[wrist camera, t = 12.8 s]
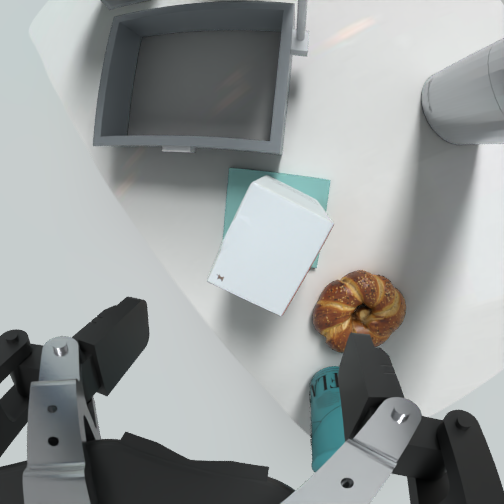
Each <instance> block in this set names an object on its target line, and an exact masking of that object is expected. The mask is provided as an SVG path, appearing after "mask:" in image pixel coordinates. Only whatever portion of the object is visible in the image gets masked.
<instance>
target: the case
mask: <svg viewBox="0 0 504 504" xmlns="http://www.w3.org/2000/svg"><path fill="white" fill-rule="evenodd" d="M306 13H307V0H298V13H297V29H295V3H282V2H264V1H224V2H205V3H193V4H183V5H175V6H167V7H161V8H155V9H149V10H143V11H138V12H133V13H129V14H124V15H120V16H116V17H114V19H113V23H112V27H111V31H110V35H109V39H108V44H107V48H106V53H105V58H104V63H103V69H102V74H101V80H100V86H99V93H98V100H97V108H96V117H95V126H94V138H93V146H162V151H168V152H191V153H195V151H196V148H210V149H224V150H237V151H248V152H259V153H268V154H277V155H282V150H283V141H284V132H285V122H286V113H287V103H288V93H289V83H290V73H291V62H292V55H298V56H307V53H308V42H309V31H306V30H305V26H306ZM212 30H255V31H274V32H281V40H280V50H279V60H278V69H277V79H276V89H275V98H274V107H273V117H272V126H271V136H270V141H262V140H251V139H239V138H225V137H208V136H181V135H129V136H127V132H128V122H129V113H130V105H131V97H132V90H133V83H134V77H135V70H136V65H137V59H138V54H139V48H140V43H141V39H142V37H147V36H154V35H161V34H170V33H180V32H193V31H212Z"/></svg>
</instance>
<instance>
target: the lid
mask: <svg viewBox="0 0 504 504" xmlns="http://www.w3.org/2000/svg"><path fill="white" fill-rule="evenodd" d="M101 1H102V2H103V3H104V4H105V5H106V6H107V7H108V8H109V9H114V8H118V7H122V6H126V5H130V4H134V3H139V2H144V1H149V0H101Z"/></svg>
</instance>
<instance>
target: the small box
mask: <svg viewBox="0 0 504 504" xmlns="http://www.w3.org/2000/svg"><path fill="white" fill-rule="evenodd" d="M333 226H334V223H333V221H332V220H331V218H330V217H329V216H328V214H327V213H326V211H325V210H324V209H323V207H322V206H321V205H320V203H319V202H318V201H317V200H316V199H314V198H312V197H310V196H309V195H307V194H305V193H303V192H301V191H299V190H297V189H295V188H293V187H291V186H289V185H287V184H285V183H283V182H281V181H279V180H277V179H275V178H273V177H270V176H268V175H265V176H263V177H261V178H259V179H258V180H256V181H253V182H252V183H251V184H250V186H249V188H248V190H247V192H246V194H245V196H244V198H243V200H242V202H241V204H240V206H239V208H238V210H237V212H236V214H235V217H234V219H233V221H232V223H231V225H230V227H229V229H228V231H227V233H226V235H225V237H224V240H223V242H222V244H221V247H220V250H219V252H218V255H217V257H216V259H215V261H214V264H213V266H212V268H211V271H210V273H209V276H208V278H207V282H209V283H211V284H213V285H216V286H218V287H220V288H222V289H224V290H226V291H228V292H230V293H232V294H234V295H236V296H238V297H240V298H242V299H244V300H247V301H249V302H251V303H253V304H255V305H257V306H260V307H262V308H264V309H266V310H268V311H270V312H273V313H275V314H277V315H279V316H282V315H283V314H284V312H285V311H286V309H287V307H288V306H289V304H290V302H291V301H292V299H293V297H294V296H295V294H296V292H297V290H298V289H299V287H300V285H301V284H302V282H303V280H304V278H305V277H306V275H307V273H308V271H309V270H310V268H311V266H312V264H313V263H314V261H315V259H316V257H317V255H318V253H319V252H320V250H321V248H322V246H323V244H324V243H325V241H326V239H327V237H328V235H329V233H330V231H331V230H332V228H333Z"/></svg>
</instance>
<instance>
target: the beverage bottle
mask: <svg viewBox="0 0 504 504" xmlns="http://www.w3.org/2000/svg"><path fill="white" fill-rule="evenodd" d="M338 372H339V367H337V366H332V367H327V368H324V369H322V370H320V371H319V372H317V373H316V374H315V376H314V377H313V379H312V380H311V382H310V383H311V384H310V385H309V386H310V388H309V389H311V399H310V405H311V406H310V407H311V419H310V420H311V422H312V436H311V435H310V436H311V437H312V439H311V440H312V442H311V443H312V444H311V445H312V469H313V471H314V472H315V473H316V472H317V471H318V470H319V469H320V468H321V467H322V466H323V465H324V464H325V463H326V462H327V461H328V460H329V459H330V458H331V457H332V456H333V455H334V454H335V453H336V451H337V450H338V449H339V448H340V447H341V446H342V445H343V444H344V443H345V437H344V426H343V417H342V408H341V399H340V391H339V383H338ZM309 395H310V394H309ZM310 428H311V427H310Z"/></svg>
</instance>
